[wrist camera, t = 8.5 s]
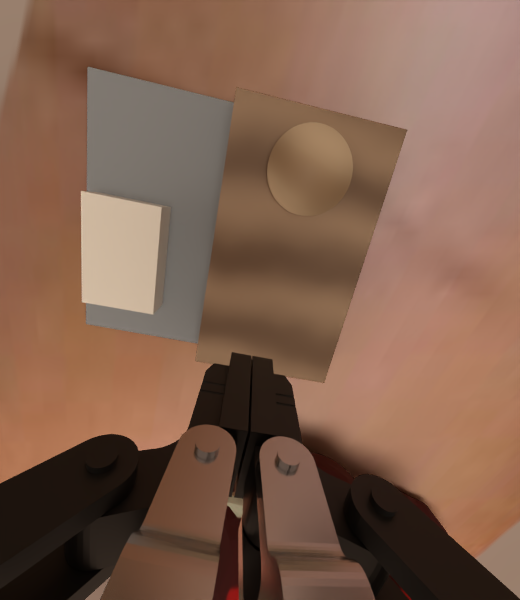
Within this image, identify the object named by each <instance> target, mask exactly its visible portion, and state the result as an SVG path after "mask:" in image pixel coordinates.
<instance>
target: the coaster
mask: <svg viewBox="0 0 520 600" xmlns="http://www.w3.org/2000/svg"><path fill="white" fill-rule="evenodd" d="M352 173H353V160H352V155H351V151H350V148H349V146H348V144H347V142H346V141H345V139H344V138H343V137H342V135H341V134H340V133H339V132H338V131H336V130H335V129H334V128H332V127H330V126H328V125H325V124H322V123H317V122H309V123H303V124H299V125H297V126H295V127H293V128H291V129H290V130H288V131H287V132H286V133H284V134H283V135H282V136H281V137H280V138H279V140H278V141H277V143H276V144H275V146H274V148H273V149H272V152H271V154H270V157H269V161H268V167H267V179H268V184H269V188H270V191H271V193H272V195H273V197H274V198H275V200H276V201H277V202H278V203H279V205H280V206H282V207H283V208H284V209H286V210H287V211H289V212H291V213H293V214H296V215H300V216H315V215H319V214H322V213H325V212H327V211H328V210H330V209H332V208H333V207H334V206H335V205H337V204H338V203H339V202H340V200H341V199H342V198H343V197H344V195H345V193H346V192H347V190H348V188H349V185H350V182H351V179H352Z"/></svg>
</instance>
